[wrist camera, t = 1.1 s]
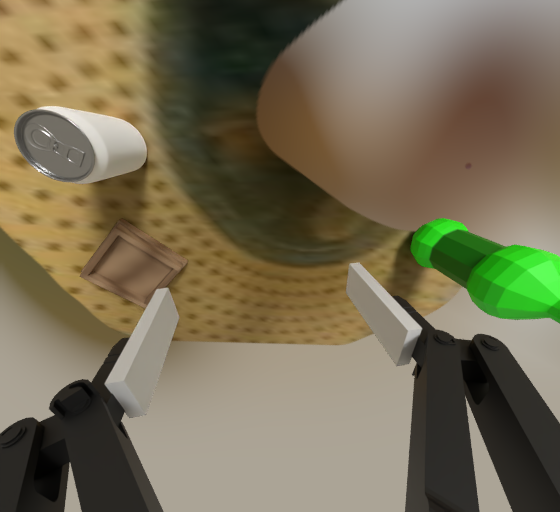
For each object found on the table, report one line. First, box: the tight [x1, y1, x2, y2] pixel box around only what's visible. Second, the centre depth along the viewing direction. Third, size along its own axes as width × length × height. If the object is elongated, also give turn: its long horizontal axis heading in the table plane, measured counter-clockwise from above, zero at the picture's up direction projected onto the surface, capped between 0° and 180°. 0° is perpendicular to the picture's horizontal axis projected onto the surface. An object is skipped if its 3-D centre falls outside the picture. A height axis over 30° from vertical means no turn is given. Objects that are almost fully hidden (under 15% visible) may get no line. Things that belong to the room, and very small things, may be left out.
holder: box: [80, 219, 188, 308], centre depth 36 cm, size 12×12×2 cm
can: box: [14, 106, 147, 184], centre depth 24 cm, size 6×6×12 cm
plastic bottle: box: [410, 218, 560, 323], centre depth 33 cm, size 10×10×25 cm
